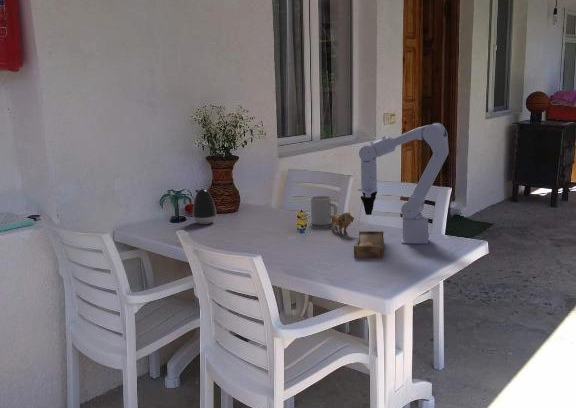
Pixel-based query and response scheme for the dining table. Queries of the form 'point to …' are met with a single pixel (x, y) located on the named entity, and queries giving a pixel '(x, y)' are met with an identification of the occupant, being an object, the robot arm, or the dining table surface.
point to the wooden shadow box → (369, 251)
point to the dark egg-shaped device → (204, 207)
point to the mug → (322, 210)
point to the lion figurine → (341, 222)
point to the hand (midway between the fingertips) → (369, 212)
